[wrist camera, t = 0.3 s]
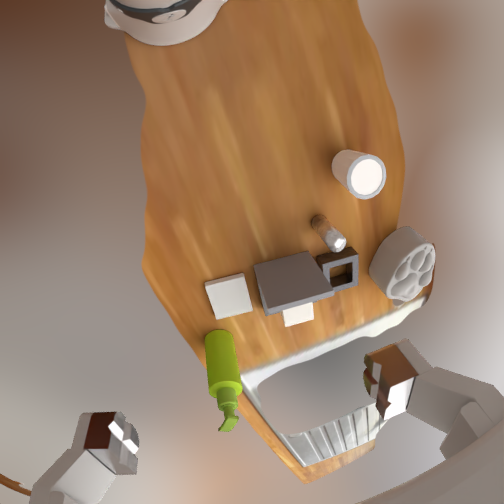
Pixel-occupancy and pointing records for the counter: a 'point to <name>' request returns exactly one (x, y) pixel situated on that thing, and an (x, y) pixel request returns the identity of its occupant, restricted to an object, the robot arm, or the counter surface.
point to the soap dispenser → (223, 374)
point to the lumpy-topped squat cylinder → (403, 264)
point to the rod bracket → (336, 259)
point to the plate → (229, 296)
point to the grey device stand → (291, 282)
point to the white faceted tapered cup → (359, 173)
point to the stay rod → (328, 233)
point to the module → (297, 314)
